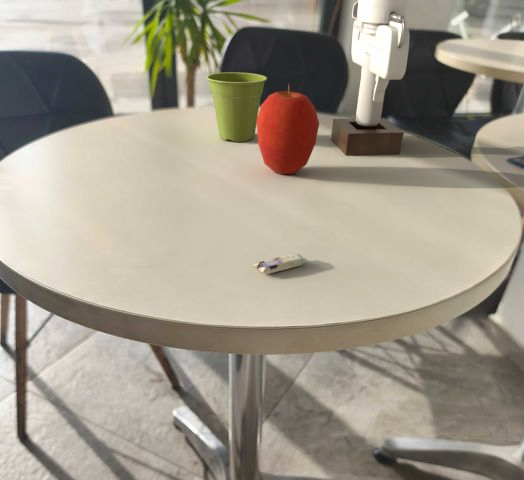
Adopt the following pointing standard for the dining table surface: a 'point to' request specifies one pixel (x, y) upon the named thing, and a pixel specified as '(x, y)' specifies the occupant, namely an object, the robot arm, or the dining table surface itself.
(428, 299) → the dining table surface
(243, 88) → the plant pot
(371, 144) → the holder
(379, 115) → the beverage can
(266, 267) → the granola bar
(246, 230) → the dining table surface
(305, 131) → the apple
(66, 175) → the dining table surface
